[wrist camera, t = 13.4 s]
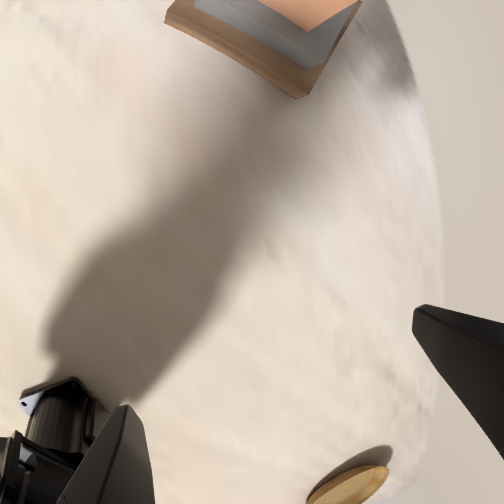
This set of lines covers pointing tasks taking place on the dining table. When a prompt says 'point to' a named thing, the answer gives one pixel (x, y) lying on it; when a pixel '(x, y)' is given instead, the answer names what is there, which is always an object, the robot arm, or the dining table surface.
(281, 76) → the tower base slab
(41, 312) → the dining table surface
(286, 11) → the terracotta block
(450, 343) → the robot arm
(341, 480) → the plant saucer
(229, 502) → the dining table surface
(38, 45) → the dining table surface
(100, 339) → the dining table surface
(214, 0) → the tower top slab
